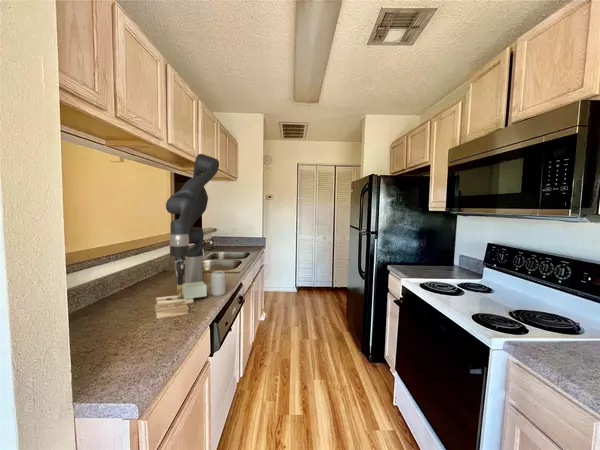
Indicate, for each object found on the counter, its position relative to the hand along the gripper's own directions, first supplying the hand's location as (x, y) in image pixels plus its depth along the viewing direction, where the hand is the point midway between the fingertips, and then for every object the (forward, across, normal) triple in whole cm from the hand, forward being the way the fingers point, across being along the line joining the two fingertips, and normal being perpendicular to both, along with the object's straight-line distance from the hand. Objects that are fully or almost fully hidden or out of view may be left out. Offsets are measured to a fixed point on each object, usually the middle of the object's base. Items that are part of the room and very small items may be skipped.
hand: (179, 284), depth 121 cm
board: (+12, +13, 0) cm, 18 cm away
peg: (+3, 0, 0) cm, 3 cm away
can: (+12, +15, -21) cm, 28 cm away
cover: (+10, +13, -9) cm, 19 cm away
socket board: (+12, 0, +3) cm, 12 cm away
